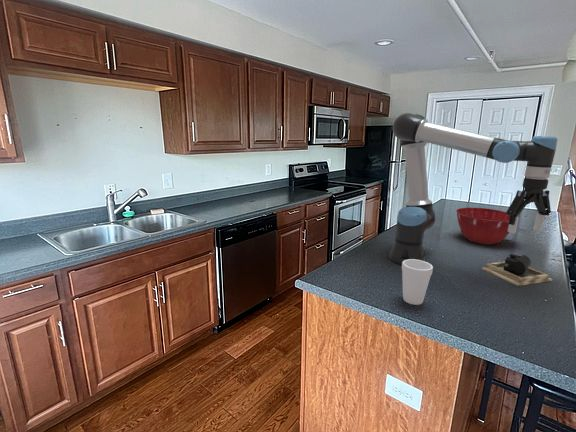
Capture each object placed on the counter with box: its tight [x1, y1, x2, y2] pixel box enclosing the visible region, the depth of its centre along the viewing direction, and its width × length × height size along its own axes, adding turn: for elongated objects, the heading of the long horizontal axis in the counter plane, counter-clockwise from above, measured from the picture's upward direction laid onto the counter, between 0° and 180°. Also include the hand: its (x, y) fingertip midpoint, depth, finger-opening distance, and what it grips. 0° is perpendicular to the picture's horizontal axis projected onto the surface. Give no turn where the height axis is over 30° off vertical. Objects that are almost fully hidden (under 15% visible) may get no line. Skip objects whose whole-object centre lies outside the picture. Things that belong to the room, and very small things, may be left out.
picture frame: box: [481, 261, 553, 287], centre depth 130 cm, size 18×16×2 cm
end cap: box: [504, 253, 532, 276], centre depth 129 cm, size 10×7×7 cm
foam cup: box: [401, 259, 434, 306], centre depth 107 cm, size 10×9×13 cm
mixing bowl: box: [455, 207, 510, 246], centre depth 171 cm, size 28×28×16 cm
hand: (524, 231), depth 125 cm, fingers open, 13 cm apart
